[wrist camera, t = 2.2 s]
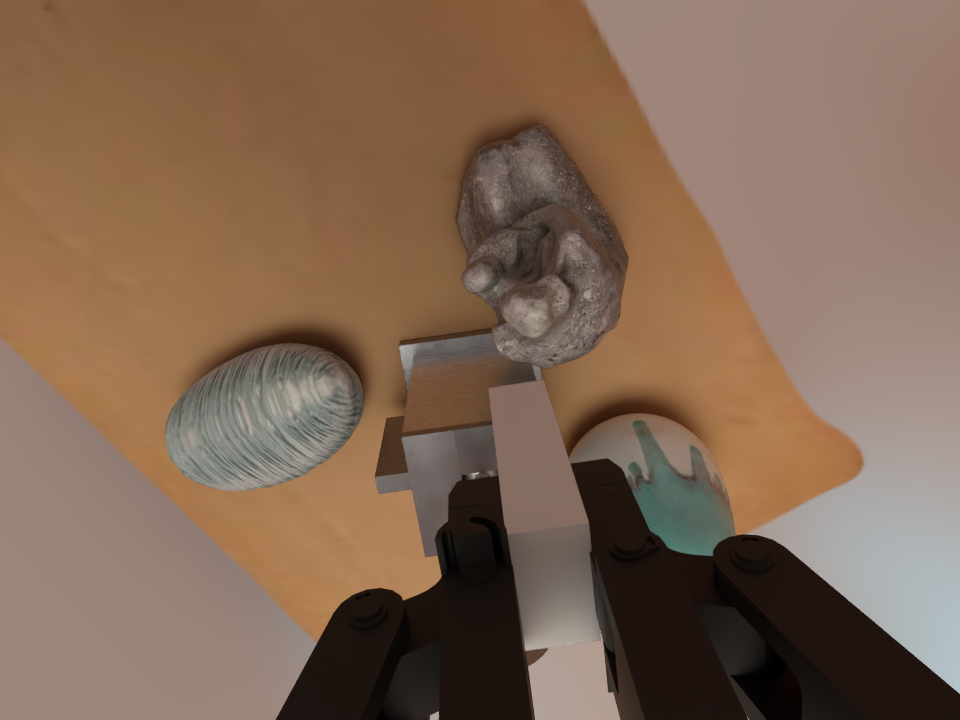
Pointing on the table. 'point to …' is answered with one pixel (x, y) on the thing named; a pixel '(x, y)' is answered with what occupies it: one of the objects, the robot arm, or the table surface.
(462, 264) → the table surface
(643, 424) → the vase
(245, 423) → the striped grey egg shape
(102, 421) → the table surface
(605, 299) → the figurine
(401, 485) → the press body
